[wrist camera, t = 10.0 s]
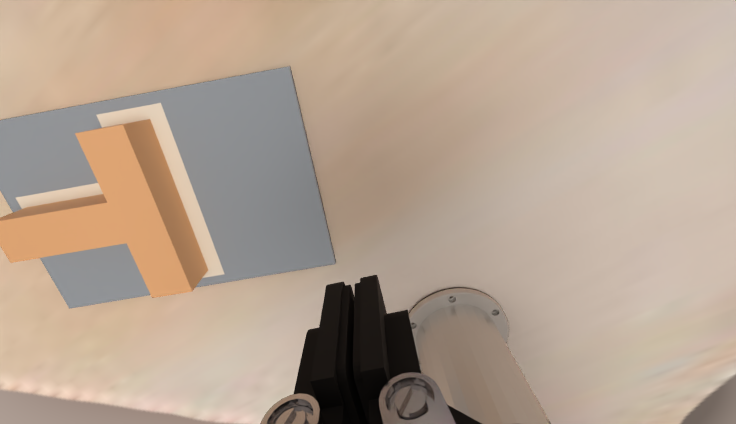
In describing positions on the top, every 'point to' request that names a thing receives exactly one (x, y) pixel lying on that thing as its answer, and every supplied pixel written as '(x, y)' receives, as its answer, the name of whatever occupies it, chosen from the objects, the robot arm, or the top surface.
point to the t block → (117, 213)
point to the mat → (185, 180)
